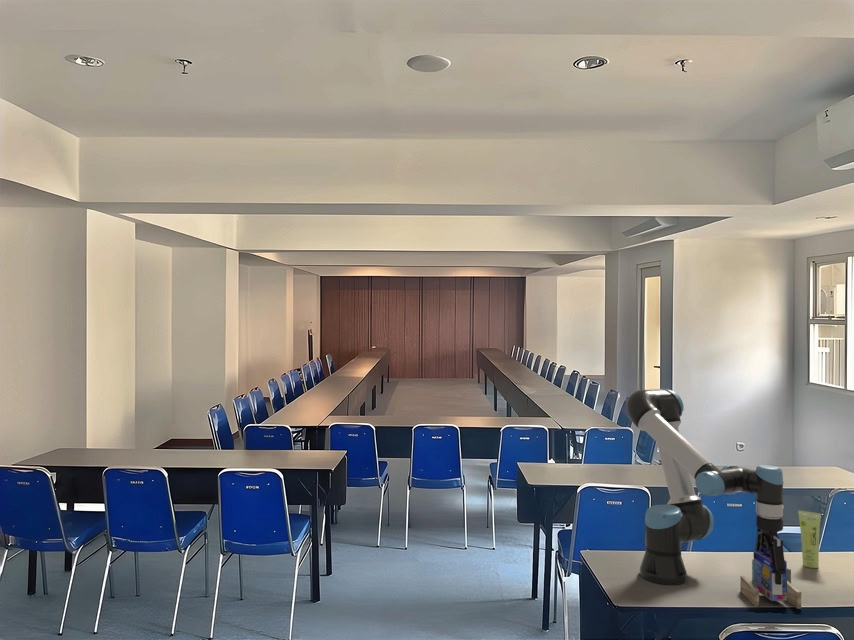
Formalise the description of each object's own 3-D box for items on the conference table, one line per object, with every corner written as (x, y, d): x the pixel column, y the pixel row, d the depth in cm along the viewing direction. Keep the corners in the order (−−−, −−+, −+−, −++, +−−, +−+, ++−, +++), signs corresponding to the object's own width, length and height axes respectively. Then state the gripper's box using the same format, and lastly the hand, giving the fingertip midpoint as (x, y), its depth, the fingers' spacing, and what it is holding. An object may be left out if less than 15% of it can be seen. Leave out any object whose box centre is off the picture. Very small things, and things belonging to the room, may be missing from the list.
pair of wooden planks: (754, 606, 200) (754, 589, 201) (740, 591, 212) (740, 575, 213) (801, 608, 199) (801, 592, 199) (784, 593, 211) (784, 577, 211)
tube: (805, 568, 235) (805, 513, 236) (798, 563, 240) (797, 509, 241) (821, 568, 235) (821, 513, 235) (813, 564, 240) (813, 510, 240)
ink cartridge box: (752, 589, 210) (752, 543, 211) (768, 588, 211) (768, 543, 211) (771, 601, 201) (771, 553, 201) (788, 601, 201) (788, 553, 202)
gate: (792, 593, 211) (792, 569, 212) (789, 593, 211) (789, 570, 211) (754, 579, 223) (754, 557, 223) (751, 580, 222) (751, 558, 223)
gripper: (798, 526, 195) (798, 602, 194) (767, 507, 217) (767, 575, 217) (771, 525, 196) (772, 601, 195) (743, 506, 218) (743, 574, 218)
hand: (769, 587), depth 206 cm, fingers closed on ink cartridge box, 10 cm apart
